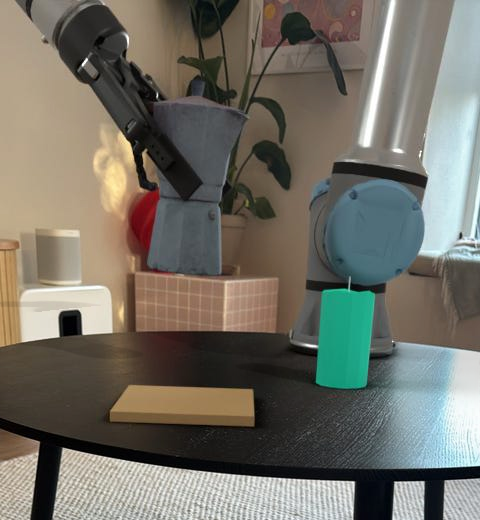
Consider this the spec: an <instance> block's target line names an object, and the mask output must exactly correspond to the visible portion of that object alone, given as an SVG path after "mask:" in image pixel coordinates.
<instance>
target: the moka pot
mask: <svg viewBox="0 0 480 520" xmlns="http://www.w3.org/2000/svg"><path fill="white" fill-rule="evenodd" d="M205 86H206V82H205V81H204V80H202V79H199V78H194V79H192V80H190V88H191V90H190V91H191V95H190V96H183V97H178V98H173V99H169V100H166V101H160V102H150V101H149V100H146V99H143V98H140V99H141V100H142V102H143V104H144V106H145V107H146V109H147V111H148V113H149V115H150V116H151V118H152V120H154V123H155V125H156V127H157V129H158V131H159V134H158V135H157V136H158V137H159V136H160V135H161V134H162V133H164V134H166V135H167V137H168V138H169V139H170V141H171V142H172V143H173V144H174V146H175V147H176V148H177V150H178V151H179V152H180V153H181V155H182V156H183V157H184V158H185V160H186V161H187V162H188V164H189V165H190V166H191V167H192V169H193V170H194V171H195V173H196V174H197V175H198V176H199V178H200V179H201V180H202V182H203V184H202V185H201V186H200V187H199V188H198V189H197V190H196V191H195V193H194V194H193V195H192V196H191V197H190V198H189V199H188V200H187V201H183V199H182V198H181V197H180V196H179V194H178V193H177V192H176V190H175V189H174V188H173V187H172V185H171V184H170V183H169V181H168V180H167V179H166V178H165V176H164V175H163V174H162V173H161V171H160V170H159V169H158V167H157V166H156V165H155V167H156V177H157V179H158V181H159V183H157V182H155V181H149V179H148V177H147V176H148V175H147V171H146V170H145V169H146V168H145V167H144V162H145V161H144V157H143V153H142V154H141V155H140V156H139V155H137V154H136V153H135V152H134V151H133V150H132V148H133V147H134V146H135V145H136V142H135V141H134V143H133V144H132V143H130V142H129V145H130V147H131V152H132V156H133V161H134V165H135V172H136V174H137V180H138V185H139V188H141V189H142V190H146V191H150V192H157V190H158V196H159V200H158V201H157V203H156V211H155V215H154V222H153V227H152V233H151V239H150V244H149V249H148V255H147V261H146V262H147V263H146V266H147V267H148V268H149V269H151V270H155V271H158V272H164V273H165V272H166V273H172V274H178V275H179V274H180V275H188V276H190V275H191V276H201V277H212V276H213V277H217V276H221V275H222V272H223V271H222V270H223V259H222V258H223V257H222V217H221V215H222V214H221V208H220V206H219V204H220V203H221V202H222V201H221V197H222V188H223V186H224V184H225V180H226V178H227V175H228V170H229V165H230V164H229V163H230V158H231V154H232V150H233V148H234V146H235V144H236V142H237V140H238V137H239V135H240V134H241V131H242V129H243V128H244V125H245V123H246V122H248V121H250V120H251V119H250V116H249V114H246V113H245V111H244V110H241V109H239V108H236V107H234V106H233V107H232V106H229V105H225V104H221V103H218V102H216V101H213V100H210V99H209V98H205V97H204V96H203V95H204V90H205ZM158 184H159V185H158ZM219 202H220V203H219Z"/></svg>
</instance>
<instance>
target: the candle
mask: <svg viewBox="0 0 480 520" xmlns="http://www.w3.org/2000/svg"><path fill="white" fill-rule="evenodd" d="M350 279H351V277H349V287H348V289H332V290H324V291H323V292H322V301H321V316H320V330H319V344H318V355H317V359H316V373H315V383H316V384H318V385H319V386H322V387H327V388H332V389H333V388H334V389H344V390H345V389H346V390H347V389H348V390H349V389H361V388H362V389H363V388H366V386H367V384H368V374H369V364H370V357H369V354H370V343H371V333H372V322H373V312H374V301H375V294H374V293H372V292H370V291H364V292H356V291H352V290H350Z"/></svg>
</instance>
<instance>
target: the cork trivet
mask: <svg viewBox="0 0 480 520" xmlns="http://www.w3.org/2000/svg"><path fill="white" fill-rule="evenodd" d="M254 397H255V396H254V389H253V388H225V387H197V386H171V385H169V386H167V385H140V384H139V385H138V384H129V385H128V386H127V388H126V389H125V390H124V391H123V393H122V394H121V396H120V397H119V398H118V400H117V401H116V403H115V404H114V405H113V406H112V408H111V409H110V411H109V422H111V423H137V424H160V425H161V424H163V425H165V424H166V425H190V426H191V425H192V426H193V425H194V426H195V425H197V426H218V427H219V426H221V427H222V426H223V427H249V428H251V427H253V428H254V427H255V398H254Z"/></svg>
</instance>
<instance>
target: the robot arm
mask: <svg viewBox="0 0 480 520" xmlns="http://www.w3.org/2000/svg"><path fill="white" fill-rule="evenodd" d="M14 1H15V2H16V3H17V5H18V6H19V7H20V8H21V10H22V11H23V12H24V14H25V15H26V16H27V17H28V19H29V20H30V21H31V22H32V23H33V24H34V26H35V27H36V28H37V29H38V31H39V33H41V37H40V40H41V42H42V43H43V44H44V45H50V46H51V48H52V49H53V50H54V51H55V52H56V53H57V54H58V57H59V58H60V60H61V61H62V63H63V64H64V65H65V66H66V67H67V69H68V70H69V71H70V73H71V74H72V75H73V77H74V78H75V79H76V80H77V81H78V82H80V83H81V84H83V85H88V86H89V87H90V89H91V90H92V92H93V93H94V95H95V96H96V97H97V99H98V100H99V102H100V103H101V105H102V107H104V109H105V111H106V112H107V113H108V115H109V116H110V117H111V119H112V121H113V122H114V123H115V125H116V126H117V129H119V131H120V132H121V134H122V136H123V137H124V139H125V140H126V141H127V142H128V143H129V144H130V143H132V144H133V143H134V141H135V142H136V145H135V146H134V147H133V148H131V151H132V150H133V151H134V152H135V153H136V154H137V155H139V156H140V155H141V154H142V155H143V153H144V152H145V151H146V152H145V154H146V155H147V156H148V157H149V159H150V160H151V161H152V162H153V164H154V165H155V167H156V166H157V167H158V169H159V170H160V171H161V173H162V174H163V175H164V176H165V178H166V179H167V180H168V181H169V183H170V184H171V185H172V187H173V188H174V189H175V190H176V192H177V193H178V194H179V196H180V197H181V198H182V199H183V201H187V200H188V199H189V198H190V197H191V196H192V195H193V194H194V193H195V191H196V190H197V189H198V188H199V187H200V186H201V185H202V184H203V182H202V180H201V179H200V178H199V176H198V175H197V174H196V173H195V171H194V170H193V169H192V167H191V166H190V165H189V164H188V162H187V161H186V160H185V158H184V157H183V156H182V155H181V153H180V152H179V151H178V150H177V148H176V147H175V146H174V144H173V143H172V142H171V141H170V139H169V138H168V137H167V135H166V134H164V133H162V134H161V135H160V136H159V137H158V136H157V135H158V134H159V131H158V129H157V127H156V125H155V123H154V120H152V118H151V116H150V115H149V113H148V111H147V109H146V107H145V106H144V104H143V102H142V100H141V99H140V98H143V99H146V100H149V101H150V102H160V101H166V100H170V99H169V98H168V97H167V96H166V95H165V94H164V92H163V91H162V90H161V88H160V87H159V86H158V85H157V83H156V82H155V80H154V79H153V77H152V75H150V74H148V73H145V74H144V73H143V70H142V69H141V68H140V67H139V66H138V65H137V64H136V63H135V62H134V61H133V60H130V61H128V60H127V52H128V48H129V43H130V37H129V33H128V31H127V28H125V26H124V25H123V24H122V23H121V21H120V20H119V18H118V17H117V16H116V15H115V13H114V12H113V11H112V10H111V8H110V7H108V6H107V5H106V1H105V0H14ZM455 1H456V0H376V5H375V10H374V15H373V21H372V25H371V31H370V37H369V41H368V47H367V52H366V57H365V63H364V68H363V73H362V78H361V83H360V88H359V94H358V98H357V99H358V100H357V104H356V108H355V115H354V120H353V125H352V131H351V136H350V141H349V146H348V147H347V149H346V150H344V151H343V152H342V153H341V154H340V155H338V156H337V157H335V159H334V160H333V164H332V169H331V174H330V177H327V178H324V179H321V180H320V181H318V182H316V183H315V184H314V186H313V188H312V191H311V198H310V200H309V205H308V206H309V207H308V210H309V226H308V227H309V229H308V242H307V243H308V245H307V256H306V257H307V260H306V274H305V290H304V297H303V300H302V303H301V306H300V308H299V311H298V314H297V317H296V319H295V321H294V324H293V327H292V328H290V330H289V335H288V337H289V348H290V349H291V350H292V351H295V352H298V353H301V354H302V353H303V354H306V355H307V354H308V355H313V356H318V344H319V330H320V316H321V301H322V292H323V291H324V290H332V289H348V287H349V277H351V279H350V290H352V291H356V292H364V291H370V292H372V293H374V294H375V301H374V312H373V322H372V333H371V343H370V354H369V358H380V357H386V356H390V355H391V354H392V353H393V351H394V350H393V348H395V347H396V343H395V342H394V337H393V336H394V335H393V331H392V327H391V326H392V325H391V322H390V317H389V312H388V308H387V307H388V306H387V302H386V293H387V282H390V281H393V280H394V279H396V278H397V277H399V276H401V275H402V274H403V273H405V271H407V270H408V269H409V268H410V267H411V266H412V264H413V263H414V262H415V260H416V258H417V257H418V255H419V253H420V251H421V248H422V246H423V243H424V238H425V232H426V231H425V229H426V228H425V227H426V226H425V225H426V223H425V215H424V211H423V208H422V207H423V203H424V199H425V195H426V189H427V186H428V185H427V184H428V181H429V175H430V174H429V173H428V172H427V170H426V168H425V166H424V165H423V163H422V159H421V154H422V149H423V145H424V140H425V136H426V131H427V127H428V123H429V117H430V114H431V108H432V106H433V105H432V104H433V99H434V96H435V91H436V86H437V82H438V76H439V73H440V68H441V64H442V59H443V55H444V51H445V47H446V41H447V37H448V33H449V29H450V24H451V19H452V14H453V11H454V6H455ZM157 167H156V168H157ZM234 188H235V187H234V185H233V184H232V183H231V182H230V180H229V179H228V178H227V177H226V180H225V184H224V186H223V188H222V197H221V202H222V201H223V200H224V199H225V198H226V197H227V195H228V194H229V193H230V192H231V191H232V190H233V189H234ZM221 202H219V204H220V203H221Z"/></svg>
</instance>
